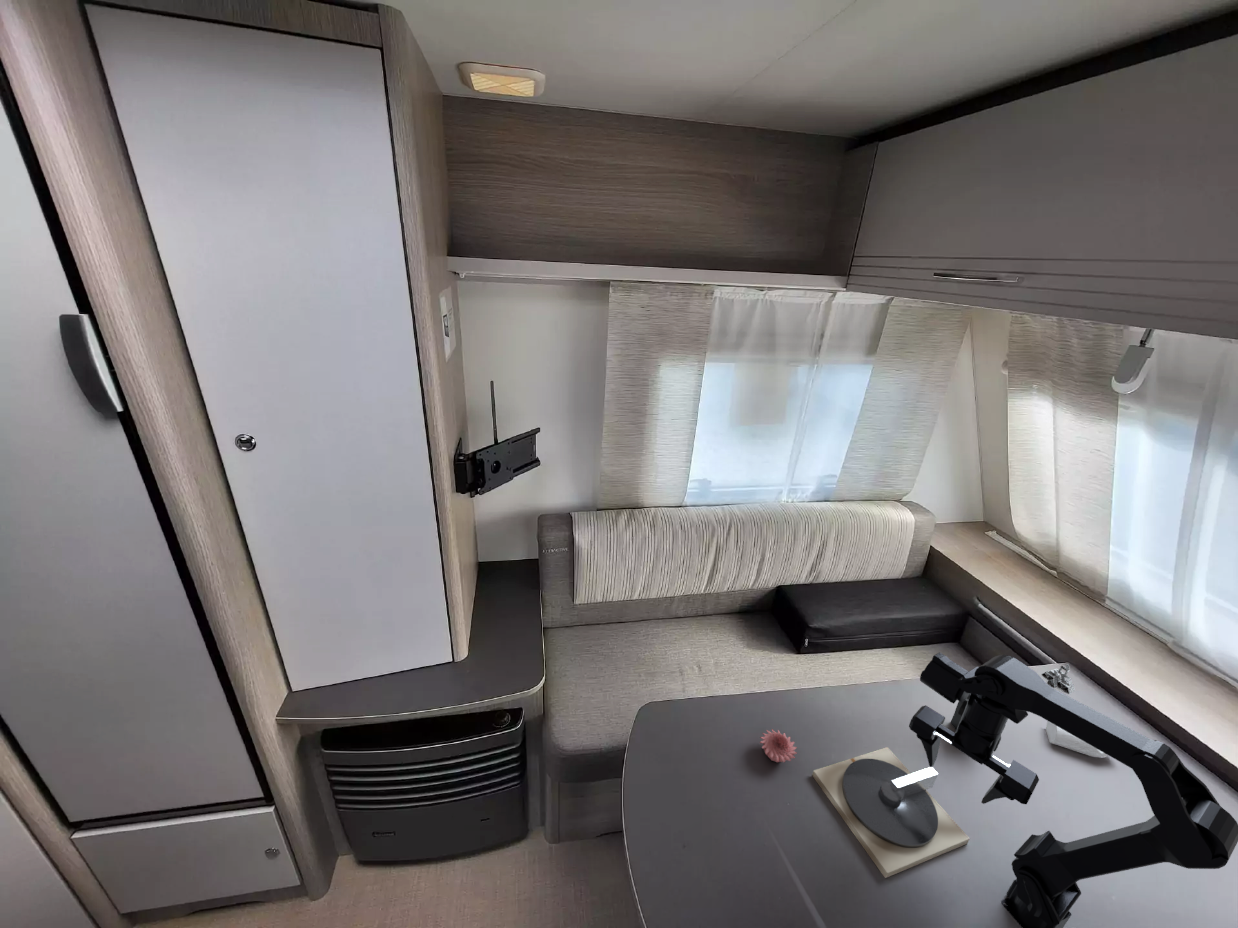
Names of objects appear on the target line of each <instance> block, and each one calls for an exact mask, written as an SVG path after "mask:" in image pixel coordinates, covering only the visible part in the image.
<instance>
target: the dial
mask: <svg viewBox="0 0 1238 928" xmlns="http://www.w3.org/2000/svg"><path fill="white" fill-rule="evenodd" d="M938 775H939V773H938V771H936V770H935V768H934V767H932V768H931V767H930V766H929V767H927V768H924V769H920V770H918V771H915V772H912V773H911V774H907V773H906V772H905V771H903V770H901V769H900V768H898V767H896V766H894V765H892V764H890V763H887V762H885V761H881V760H877V759H860V760H857V761H855V762H853V763H851V764H850V765H849V766H848V767H847V769H846V771H845V774H844V777H843V781H842V789H843V794H844V797H845V800H846V802H847V804H848V806H849V808H850V810H851V811H852V813H853V814H854V815H855V817H856V818H857V819H858V820H859V821H860V822H861V823H862V824H863V825H864V826H865V827H866V828H867V829H868V830H869V831H871V832H872V833H873V834H874V835H876V836H878V837H879V838H881V839H883V840H884V841H886V842H889V843H891V844H893V845H896V846H900V847H905V848H919V847H922V846H925V845H926V844H928V843H929V842H930V841H931V840H932V839H933V837H934V835H935V833H936V831H937V828H938V816H937V812H936V808H935V806H934V804H933V802H932V800H931V798H930V797H929V795H928V794H927V792H926V791H925V790H928V789H932V788H933V787H934V785H935V782H936V780H937V777H938Z"/></svg>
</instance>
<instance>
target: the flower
mask: <svg viewBox="0 0 1238 928" xmlns="http://www.w3.org/2000/svg"><path fill="white" fill-rule="evenodd" d="M771 731H772V732H771ZM771 731H770V730H768V729H766V732H767V733H764V732H762V735H763V736H760V737H759V738H760V739H762V740H761V741H760V742H759V743H760V744H763V745H762V746H761V749H763V752H764V753H765V755H766V756H767V757H768V759H770V760H771V761H773V762H776V763H780V762H781V763H786V761H789V762H792V759H796V757H795V756H794V755H797V754H798V752H796V751H795V750H796V749H797V748H798V747H797V746H794V745H795V741H791V736H788V737H787V735H786V733H785V732H783V734H782V733H781V732H780V730H779V729H777V732H776V731H775V730H774V729H773V728H772V729H771Z"/></svg>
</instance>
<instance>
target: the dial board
mask: <svg viewBox="0 0 1238 928" xmlns="http://www.w3.org/2000/svg"><path fill="white" fill-rule="evenodd" d="M860 759H877V760H881V761H885V762H887V763H890V764H892V765H894V766H896V767H898V768H900V769H901V770H903V771H905V772H906V773H907V774H912V773H911V771H910V770H909V769H907V767H906V766H905V765H904V763H903V762H902V761H901V760H900V759H899V758H898V757H897V756H896V755H895V753H893V751H892V750H891V749H890V748H889V747H888V746H886V747H883V748H880V749H877V750H874V751H871V752H868V753H864V754H861V755H857V756H855V757H852V758H849V759H846V760H843V761H839V762H837V763H833V764H830V765H827V766H824V767H820V768H816V769H814V770H812V771H813V772H812V775H811V776H812V777H813V779H814V780H815V782H816V783H817V785H818V786H819V787H820V789H821V790H822V792H823V793H824V794H825V796H826V797H827V799H828V801H830V803H831V804H832V805H833V807H834V809H835V810H836V811H837V813H838V814H839V815H840V817H841V818H842V820H843V821H844V823H845V824H846V825H847V827H848V828H849V829H850V831H851V832H852V833H853V835H854V836H855V839H857V840H858V842H859V843H860V845H861V846H862V847H863V849H864V850H865V851H866V853H867V855H868V856H869V857H870V859H871V860H872V861H873V864H874V865H875V866H876V867H877V869H878V870H879V872H880V873H881V875H882V876H883V877H884V879H887V878H889V877H892V876H895V875H896V874H898V873H901V872H903V871H906V870H908V869H911V868H913V867H915V866H918V865H921V864H923V863H924V862H927V861H930V860H932V859H935V858H937V857H939V856H942V855H943V854H945V853H946V854H947V853H948V852H951V851H953V850H955V849H958V848H961V847H962V846H965V845H967V844H968V843H969V841H970V839H971V838H970V837H969V835H967V834H966V832H965V831H963V829H962V828H961V827H960V826H959V825H958V823H956V821H955V820H954V819H953V818H952V817H951V816H950V814H948V812H947V811H946V810H945V809H944V808H943V807H942V806H941V805H940V804H939V803H938V802H937V800H936V799H935V798H934V797H933V796H932V795H931V793H930V792H929V791H928V789H926V790H925V791H926V792H927V794H928V795H929V797H930V798H931V800H932V802H933V804H934V806H935V808H936V812H937V816H938V828H937V831H936V833H935V835H934V837H933V839H932V840H931V841H930V842H929V843H928V844H926V845H925V846H922V847H919V848H905V847H900V846H896V845H893V844H891V843H889V842H886V841H884V840H883V839H881V838H879V837H878V836H876V835H874V834H873V833H872V832H871V831H869V830H868V829H867V828H866V827H865V826H864V825H863V824H862V823H861V822H860V821H859V820H858V819H857V818H856V817H855V815H854V814H853V813H852V811H851V810H850V808H849V806H848V804H847V802H846V800H845V797H844V794H843V789H842V781H843V777H844V774H845V771H846V769H847V767H848V766H849V765H850V764H851V763H853V762H855V761H857V760H860Z"/></svg>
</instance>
